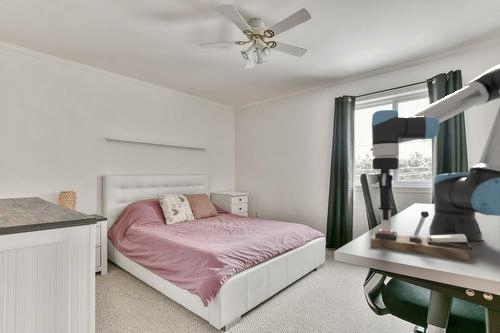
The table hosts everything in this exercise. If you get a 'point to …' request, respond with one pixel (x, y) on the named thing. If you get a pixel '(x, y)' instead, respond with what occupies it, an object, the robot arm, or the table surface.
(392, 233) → the push button
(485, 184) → the robot arm
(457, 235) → the rocker switch
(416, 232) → the toggle lever
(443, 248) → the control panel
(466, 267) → the table surface
